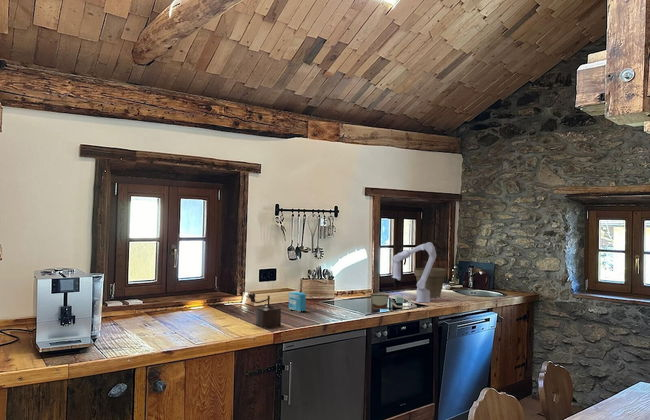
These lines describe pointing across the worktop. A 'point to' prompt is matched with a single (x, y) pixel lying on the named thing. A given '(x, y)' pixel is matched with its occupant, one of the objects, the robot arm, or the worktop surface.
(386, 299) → the food container
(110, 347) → the worktop surface
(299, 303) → the light blue box
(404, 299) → the chute
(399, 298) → the painted block
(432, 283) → the plant pot
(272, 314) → the manual coffee grinder
